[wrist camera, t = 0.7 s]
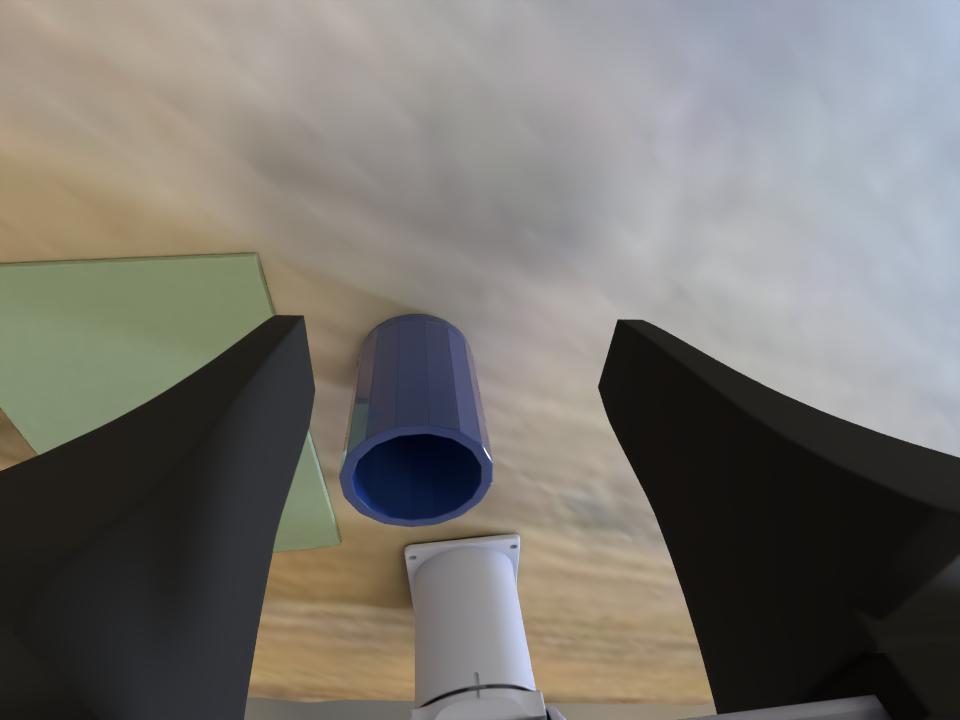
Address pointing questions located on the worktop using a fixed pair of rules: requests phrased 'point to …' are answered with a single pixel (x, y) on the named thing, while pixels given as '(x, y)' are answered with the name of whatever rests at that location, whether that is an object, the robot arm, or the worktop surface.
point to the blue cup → (415, 426)
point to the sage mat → (135, 352)
